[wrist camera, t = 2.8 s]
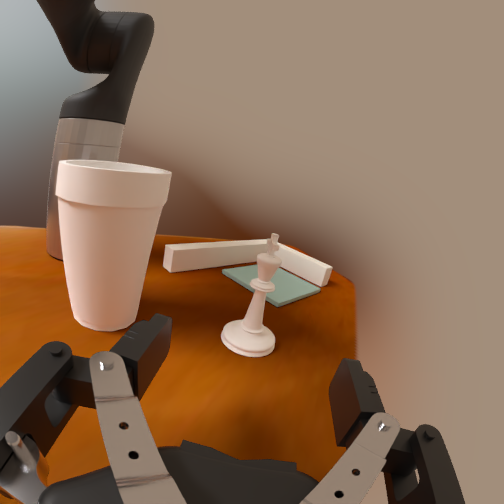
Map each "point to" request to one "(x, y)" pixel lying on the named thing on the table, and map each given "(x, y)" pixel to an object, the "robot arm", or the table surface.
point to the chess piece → (255, 310)
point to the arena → (252, 266)
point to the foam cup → (108, 236)
